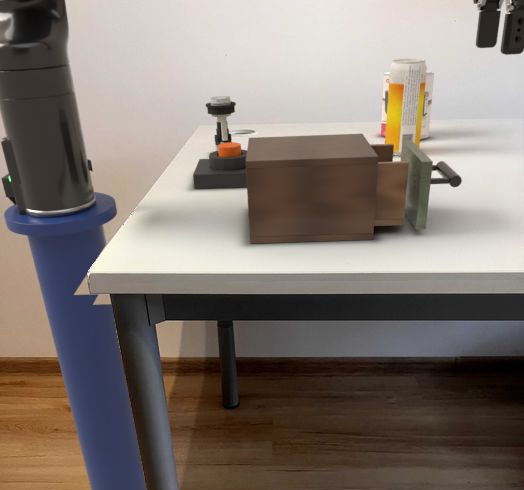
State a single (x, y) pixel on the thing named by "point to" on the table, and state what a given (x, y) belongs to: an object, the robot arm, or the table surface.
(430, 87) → the ink box
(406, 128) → the beer can
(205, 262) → the table surface
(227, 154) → the button
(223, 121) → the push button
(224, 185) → the control box
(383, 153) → the drawer
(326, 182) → the cabinet
